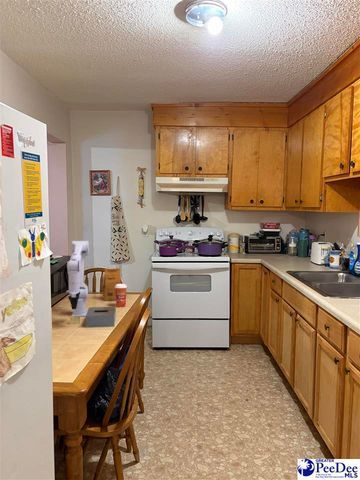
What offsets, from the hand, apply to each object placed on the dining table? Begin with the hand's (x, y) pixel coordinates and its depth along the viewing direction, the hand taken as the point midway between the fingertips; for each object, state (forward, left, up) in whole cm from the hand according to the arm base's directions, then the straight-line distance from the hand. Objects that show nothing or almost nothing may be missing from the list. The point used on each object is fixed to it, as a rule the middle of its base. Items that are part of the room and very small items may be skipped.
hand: (74, 307), depth 191 cm
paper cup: (-33, +24, -10) cm, 42 cm away
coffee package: (-51, +17, -10) cm, 55 cm away
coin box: (-2, +14, -9) cm, 17 cm away
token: (-1, 0, -9) cm, 9 cm away
